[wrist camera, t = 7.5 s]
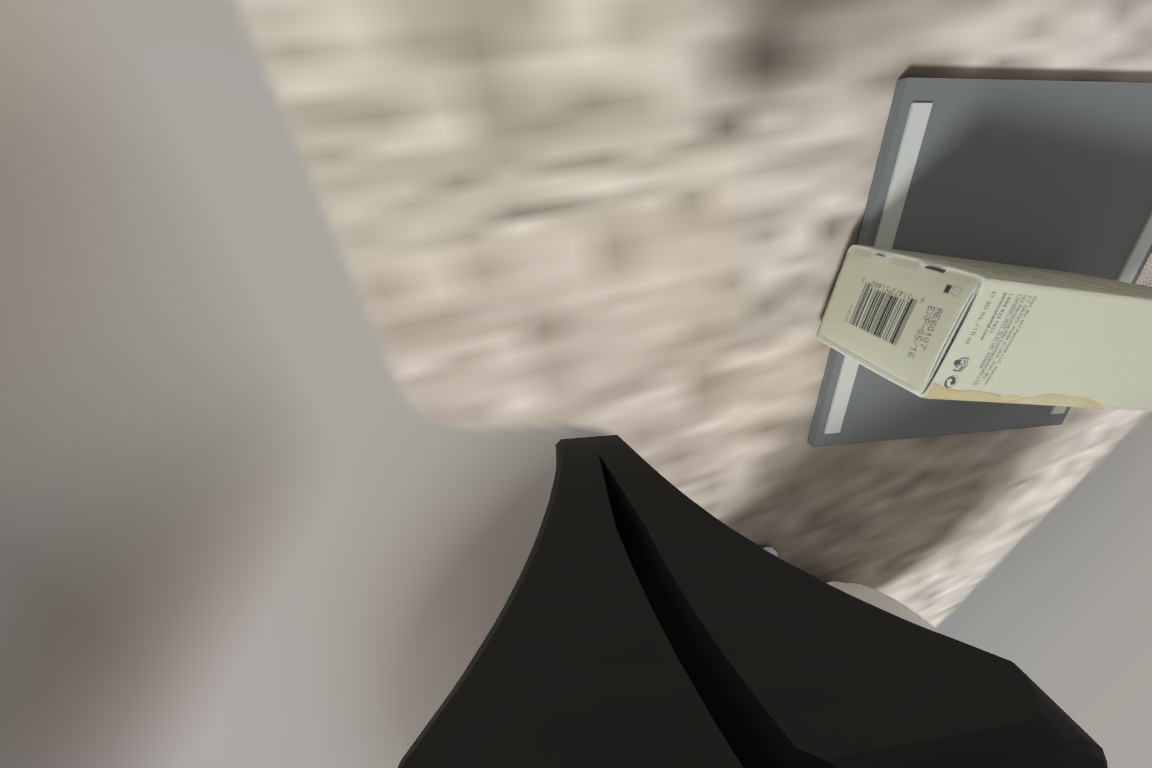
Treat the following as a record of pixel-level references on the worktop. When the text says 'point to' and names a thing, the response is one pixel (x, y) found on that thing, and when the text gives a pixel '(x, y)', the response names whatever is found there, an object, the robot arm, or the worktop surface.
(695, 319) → the worktop surface
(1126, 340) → the skincare box
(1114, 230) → the mat
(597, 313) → the worktop surface
